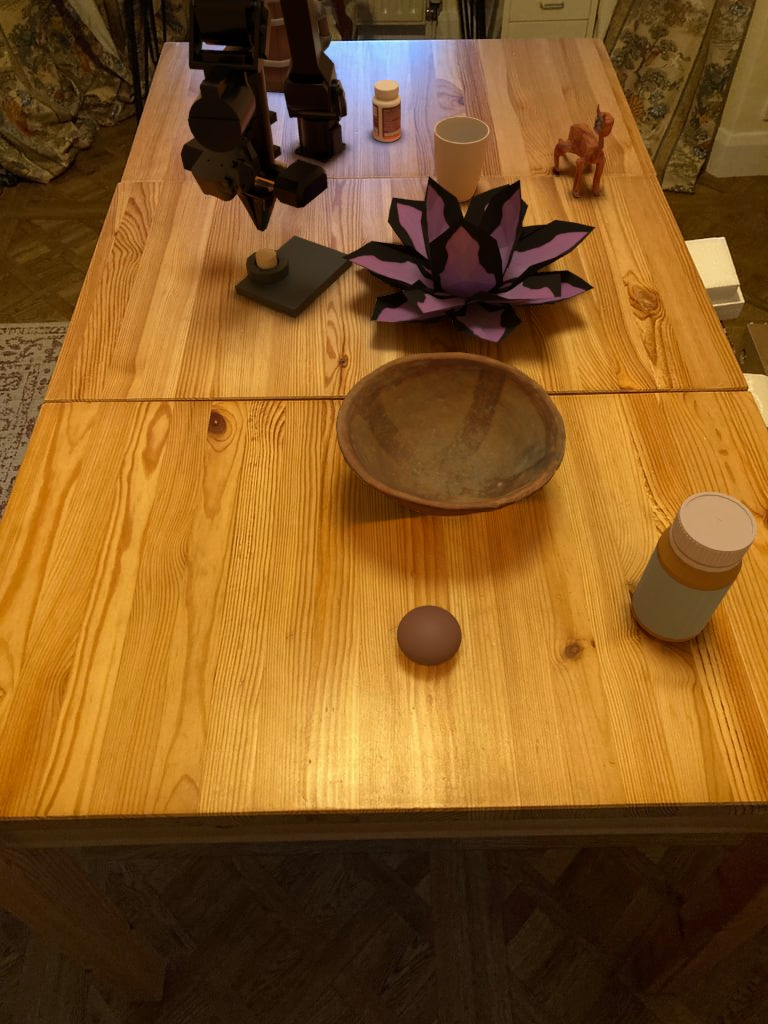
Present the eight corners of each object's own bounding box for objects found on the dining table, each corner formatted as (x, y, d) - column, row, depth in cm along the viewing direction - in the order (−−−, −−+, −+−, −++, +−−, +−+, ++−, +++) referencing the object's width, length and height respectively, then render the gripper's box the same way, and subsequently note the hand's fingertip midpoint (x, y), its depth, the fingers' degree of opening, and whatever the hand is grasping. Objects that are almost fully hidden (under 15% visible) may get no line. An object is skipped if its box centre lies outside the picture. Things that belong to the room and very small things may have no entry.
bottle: (621, 585, 76) (662, 490, 64) (689, 579, 77) (744, 484, 65) (641, 648, 72) (689, 559, 60) (713, 642, 72) (776, 552, 60)
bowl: (493, 606, 75) (505, 548, 67) (303, 509, 82) (293, 446, 75) (582, 462, 86) (601, 398, 78) (407, 389, 94) (409, 323, 86)
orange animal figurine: (539, 148, 129) (552, 60, 118) (577, 144, 129) (594, 57, 118) (571, 206, 118) (589, 115, 107) (612, 202, 118) (634, 111, 107)
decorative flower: (333, 368, 96) (317, 260, 85) (367, 236, 117) (358, 135, 106) (596, 373, 92) (616, 261, 81) (583, 236, 113) (597, 131, 102)
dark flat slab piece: (231, 292, 106) (227, 274, 103) (290, 241, 113) (288, 223, 110) (295, 318, 102) (293, 299, 100) (352, 264, 109) (351, 245, 107)
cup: (483, 180, 123) (489, 117, 115) (482, 208, 118) (489, 144, 110) (432, 178, 123) (435, 115, 115) (429, 206, 118) (432, 142, 110)
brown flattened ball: (452, 614, 75) (455, 592, 71) (466, 669, 71) (469, 649, 68) (391, 622, 74) (391, 601, 71) (402, 678, 70) (402, 658, 67)
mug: (251, 94, 141) (239, 2, 130) (251, 66, 149) (238, -24, 137) (336, 89, 142) (331, -3, 130) (331, 61, 150) (326, -29, 138)
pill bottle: (405, 132, 132) (405, 81, 126) (393, 145, 130) (393, 93, 123) (380, 127, 134) (379, 75, 127) (368, 139, 131) (367, 88, 124)
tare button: (252, 265, 105) (251, 255, 104) (265, 255, 106) (263, 245, 105) (269, 272, 104) (267, 262, 103) (281, 261, 105) (280, 251, 104)
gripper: (135, 117, 88) (167, 239, 100) (266, 160, 82) (283, 284, 94) (198, 79, 93) (221, 198, 106) (325, 117, 87) (334, 238, 100)
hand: (262, 229), depth 101 cm, fingers closed
